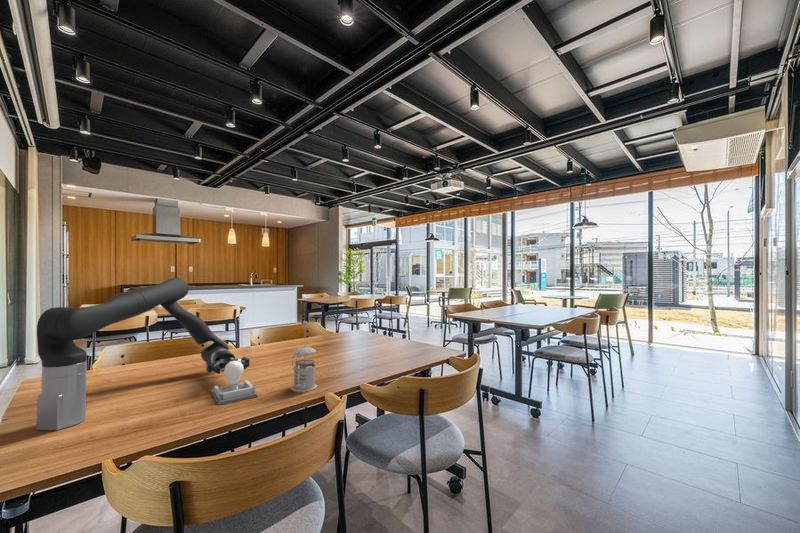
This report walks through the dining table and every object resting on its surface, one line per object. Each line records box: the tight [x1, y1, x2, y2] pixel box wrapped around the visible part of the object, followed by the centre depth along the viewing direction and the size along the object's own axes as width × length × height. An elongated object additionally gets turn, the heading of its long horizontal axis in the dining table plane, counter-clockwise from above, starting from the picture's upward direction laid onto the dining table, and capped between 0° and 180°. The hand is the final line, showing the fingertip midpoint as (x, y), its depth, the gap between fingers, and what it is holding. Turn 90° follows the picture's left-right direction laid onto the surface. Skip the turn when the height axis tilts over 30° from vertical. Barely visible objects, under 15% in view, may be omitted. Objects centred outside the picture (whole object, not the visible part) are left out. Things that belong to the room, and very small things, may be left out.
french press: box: [290, 320, 318, 393], centre depth 129 cm, size 10×12×25 cm
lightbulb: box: [223, 361, 245, 391], centre depth 121 cm, size 6×6×11 cm
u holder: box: [210, 379, 258, 406], centre depth 121 cm, size 14×12×3 cm
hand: (232, 368), depth 123 cm, fingers open, 8 cm apart
